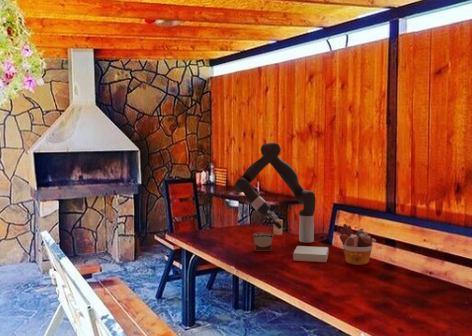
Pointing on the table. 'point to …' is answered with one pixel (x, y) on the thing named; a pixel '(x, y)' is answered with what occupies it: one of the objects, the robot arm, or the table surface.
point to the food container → (263, 241)
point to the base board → (310, 254)
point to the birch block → (276, 229)
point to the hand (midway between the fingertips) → (281, 226)
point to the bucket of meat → (356, 245)
